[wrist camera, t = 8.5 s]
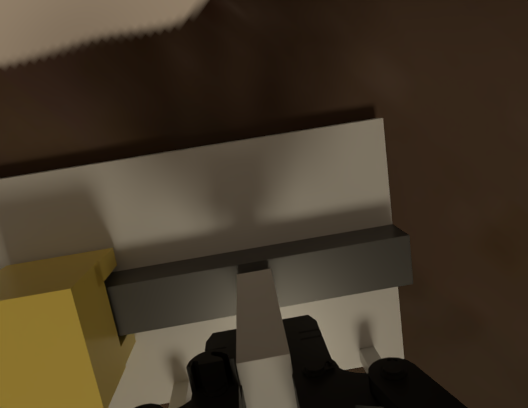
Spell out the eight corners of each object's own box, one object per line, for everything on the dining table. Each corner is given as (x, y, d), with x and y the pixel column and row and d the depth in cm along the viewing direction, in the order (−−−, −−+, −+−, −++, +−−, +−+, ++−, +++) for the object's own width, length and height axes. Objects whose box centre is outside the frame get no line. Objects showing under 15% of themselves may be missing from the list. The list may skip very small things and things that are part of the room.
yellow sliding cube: (112, 245, 19) (70, 288, 14) (136, 342, 20) (105, 413, 15) (5, 263, 19) (-74, 313, 14) (36, 360, 20) (-28, 438, 15)
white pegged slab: (375, 118, 20) (416, 117, 16) (396, 348, 23) (437, 404, 18) (-115, 196, 19) (-223, 219, 15) (-31, 427, 22) (-100, 507, 17)
